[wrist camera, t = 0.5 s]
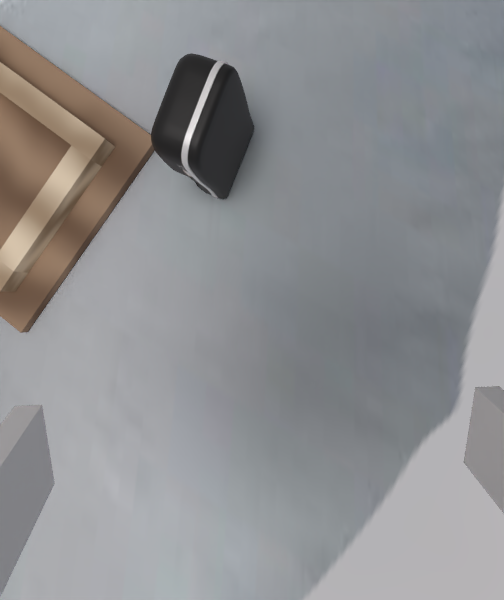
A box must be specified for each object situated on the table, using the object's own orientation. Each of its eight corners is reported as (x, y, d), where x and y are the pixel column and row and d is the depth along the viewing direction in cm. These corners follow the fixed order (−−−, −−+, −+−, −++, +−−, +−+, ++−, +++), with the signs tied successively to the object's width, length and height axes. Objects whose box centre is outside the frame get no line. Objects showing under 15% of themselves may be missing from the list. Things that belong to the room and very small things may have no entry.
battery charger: (215, 109, 40) (177, 33, 28) (257, 125, 39) (236, 53, 28) (184, 188, 40) (134, 143, 29) (225, 204, 39) (192, 165, 28)
